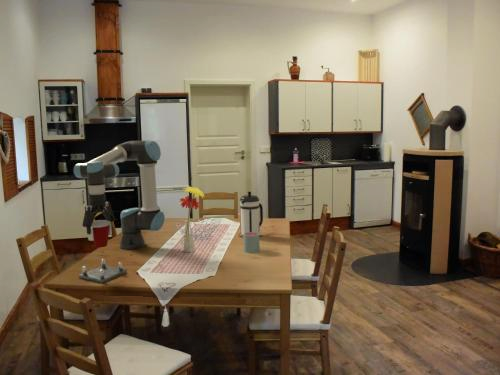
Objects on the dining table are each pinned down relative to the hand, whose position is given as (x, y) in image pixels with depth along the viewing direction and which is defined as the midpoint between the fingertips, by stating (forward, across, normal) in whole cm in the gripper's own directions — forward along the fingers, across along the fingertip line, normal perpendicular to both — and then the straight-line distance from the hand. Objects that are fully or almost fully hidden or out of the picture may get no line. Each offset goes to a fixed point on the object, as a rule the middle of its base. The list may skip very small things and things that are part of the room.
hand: (100, 237), depth 208 cm
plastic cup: (+5, 0, 0) cm, 5 cm away
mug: (+20, -70, +47) cm, 87 cm away
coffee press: (+20, -96, +32) cm, 103 cm away
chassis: (+19, 0, 0) cm, 19 cm away
